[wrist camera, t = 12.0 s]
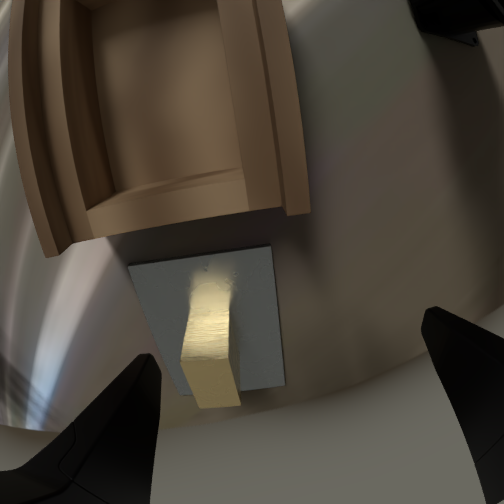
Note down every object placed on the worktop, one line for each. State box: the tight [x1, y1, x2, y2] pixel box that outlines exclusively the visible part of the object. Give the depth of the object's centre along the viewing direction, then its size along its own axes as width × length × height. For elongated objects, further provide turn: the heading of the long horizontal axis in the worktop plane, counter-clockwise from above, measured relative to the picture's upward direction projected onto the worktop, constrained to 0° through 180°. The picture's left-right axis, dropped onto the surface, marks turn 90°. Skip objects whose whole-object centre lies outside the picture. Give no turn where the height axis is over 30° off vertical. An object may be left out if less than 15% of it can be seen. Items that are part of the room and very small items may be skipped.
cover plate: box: [128, 244, 285, 408], centre depth 20 cm, size 10×14×6 cm
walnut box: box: [8, 0, 311, 258], centre depth 12 cm, size 13×16×6 cm
